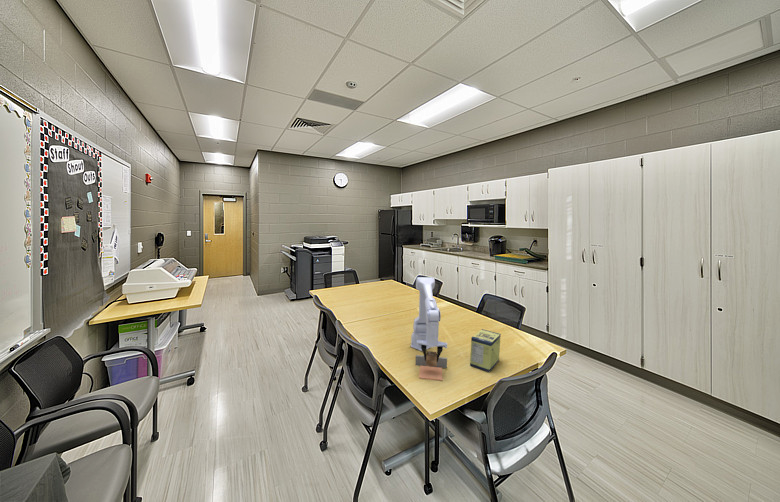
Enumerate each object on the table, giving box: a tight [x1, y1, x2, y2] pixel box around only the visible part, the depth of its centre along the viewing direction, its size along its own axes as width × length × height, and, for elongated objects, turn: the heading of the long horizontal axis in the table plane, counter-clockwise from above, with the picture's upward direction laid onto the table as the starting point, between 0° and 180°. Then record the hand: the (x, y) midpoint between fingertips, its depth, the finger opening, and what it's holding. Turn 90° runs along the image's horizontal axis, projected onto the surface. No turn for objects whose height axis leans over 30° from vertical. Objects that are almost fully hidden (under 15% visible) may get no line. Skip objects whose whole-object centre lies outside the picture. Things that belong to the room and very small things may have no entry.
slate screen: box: [415, 354, 448, 369], centre depth 146 cm, size 16×1×5 cm, turn 81°
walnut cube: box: [426, 350, 437, 366], centre depth 138 cm, size 5×5×5 cm
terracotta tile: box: [418, 366, 443, 382], centre depth 139 cm, size 11×11×1 cm
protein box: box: [469, 328, 501, 373], centre depth 149 cm, size 10×16×16 cm
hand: (431, 360), depth 138 cm, fingers closed on walnut cube, 5 cm apart
